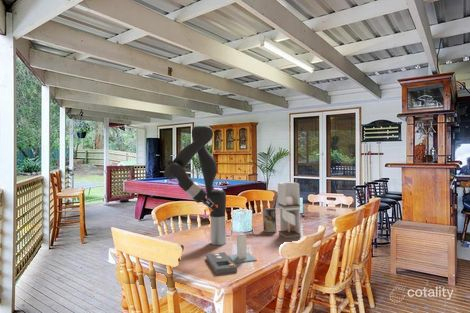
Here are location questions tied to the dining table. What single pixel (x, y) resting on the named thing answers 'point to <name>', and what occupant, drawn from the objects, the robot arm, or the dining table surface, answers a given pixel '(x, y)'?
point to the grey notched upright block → (289, 209)
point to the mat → (237, 260)
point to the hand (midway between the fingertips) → (218, 211)
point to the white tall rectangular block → (241, 246)
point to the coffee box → (269, 219)
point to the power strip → (221, 263)
